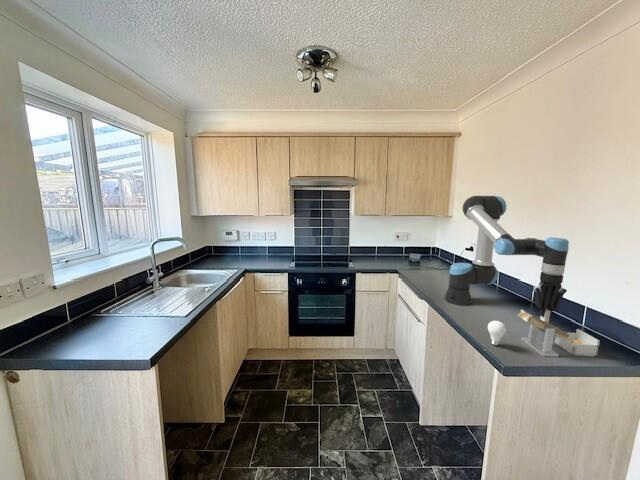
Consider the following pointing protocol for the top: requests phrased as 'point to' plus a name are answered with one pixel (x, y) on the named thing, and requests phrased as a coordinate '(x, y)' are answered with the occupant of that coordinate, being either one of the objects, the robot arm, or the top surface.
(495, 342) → the light bulb
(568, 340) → the tray
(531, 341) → the stand
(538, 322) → the lever
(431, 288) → the top surface
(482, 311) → the top surface
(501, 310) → the top surface
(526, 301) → the top surface
